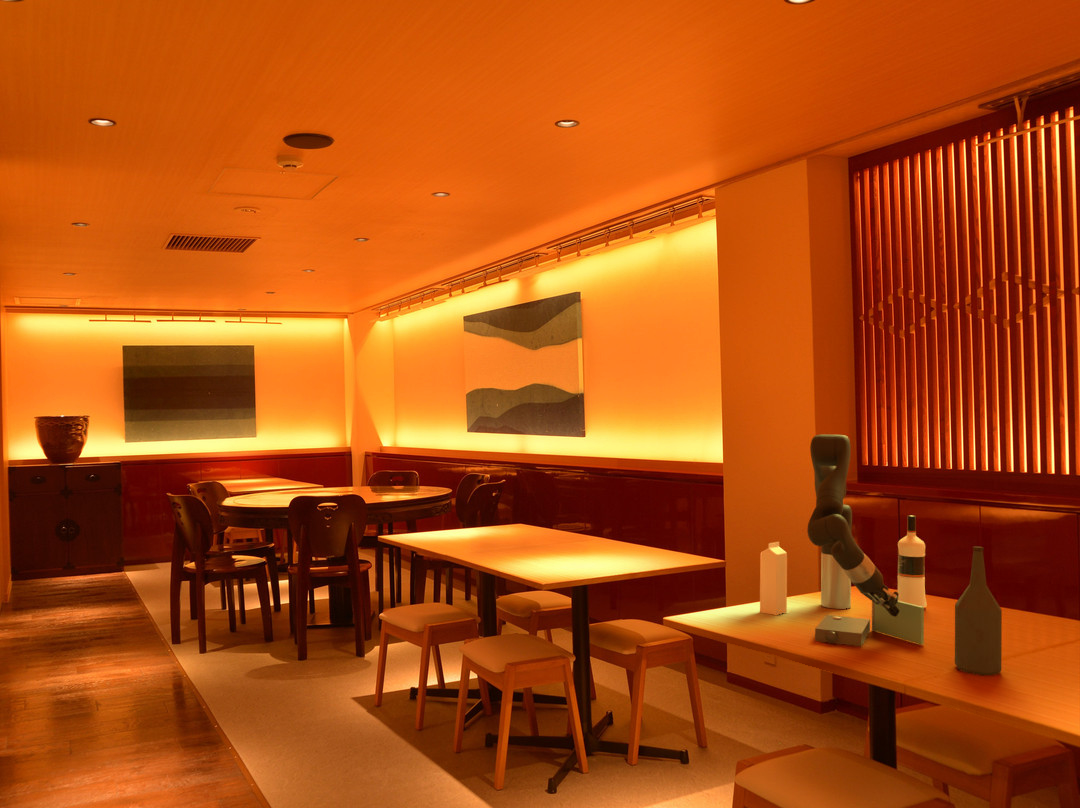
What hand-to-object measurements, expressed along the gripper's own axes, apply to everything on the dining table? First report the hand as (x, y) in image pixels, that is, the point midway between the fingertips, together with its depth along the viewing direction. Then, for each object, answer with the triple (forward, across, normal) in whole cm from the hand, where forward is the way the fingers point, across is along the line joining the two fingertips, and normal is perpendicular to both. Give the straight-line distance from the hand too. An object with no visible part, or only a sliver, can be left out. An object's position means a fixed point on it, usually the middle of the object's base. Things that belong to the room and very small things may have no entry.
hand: (895, 613), depth 246 cm
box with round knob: (-2, +9, +12) cm, 16 cm away
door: (+7, +2, +3) cm, 8 cm away
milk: (-1, +42, +12) cm, 43 cm away
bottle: (+3, -30, +8) cm, 31 cm away
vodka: (+33, +33, -22) cm, 52 cm away
